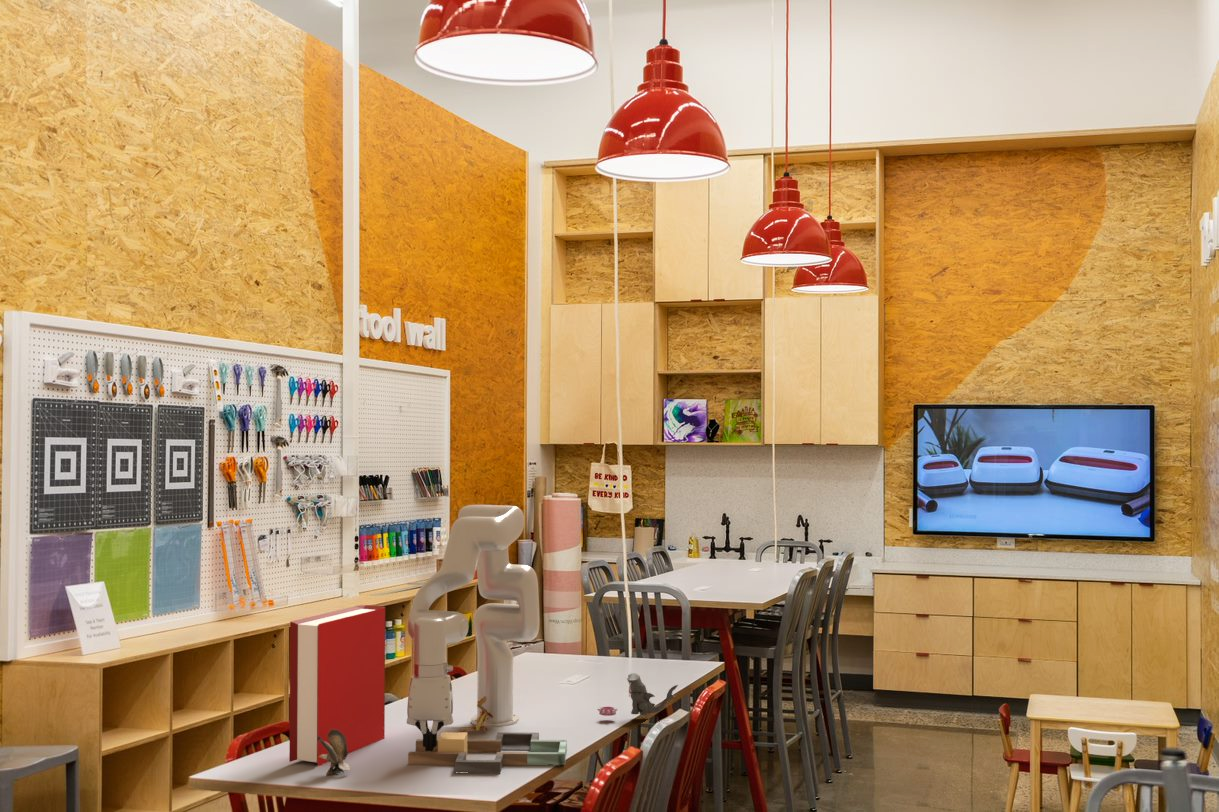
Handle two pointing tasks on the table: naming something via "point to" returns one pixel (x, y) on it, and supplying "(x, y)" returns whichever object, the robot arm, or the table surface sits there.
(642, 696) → the grey and pink pieces
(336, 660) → the book
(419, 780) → the table surface
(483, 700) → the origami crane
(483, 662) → the robot arm
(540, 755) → the trap channel
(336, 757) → the eagle figurine
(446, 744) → the ochre block
